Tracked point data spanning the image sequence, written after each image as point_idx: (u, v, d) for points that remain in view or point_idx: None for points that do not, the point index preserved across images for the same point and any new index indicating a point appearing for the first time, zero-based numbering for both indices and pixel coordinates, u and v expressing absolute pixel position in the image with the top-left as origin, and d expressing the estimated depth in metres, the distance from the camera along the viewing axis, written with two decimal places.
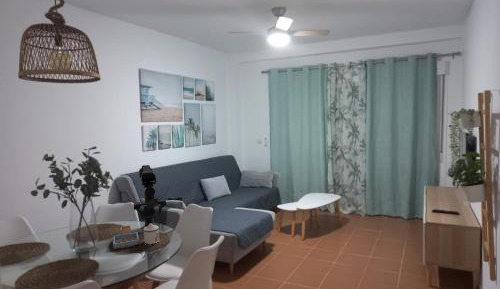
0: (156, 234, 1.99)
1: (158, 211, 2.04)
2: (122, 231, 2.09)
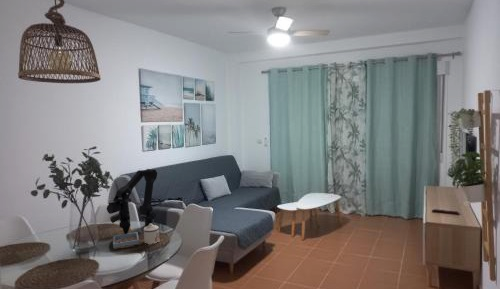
0: (156, 234, 1.99)
1: None
2: (122, 231, 2.09)
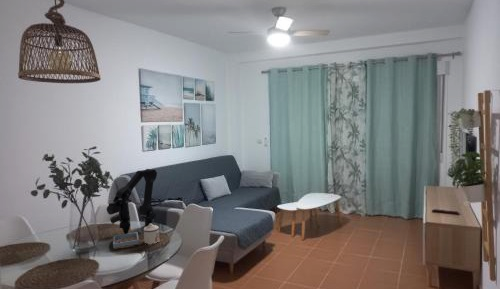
0: (156, 234, 1.99)
1: None
2: (122, 231, 2.09)
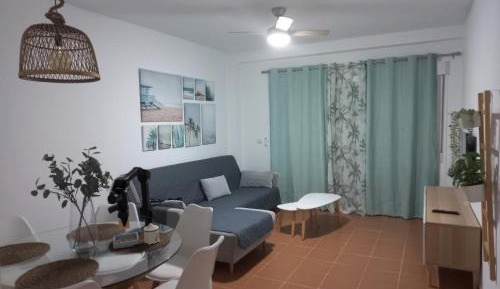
0: (156, 234, 1.99)
1: None
2: (120, 221, 1.98)
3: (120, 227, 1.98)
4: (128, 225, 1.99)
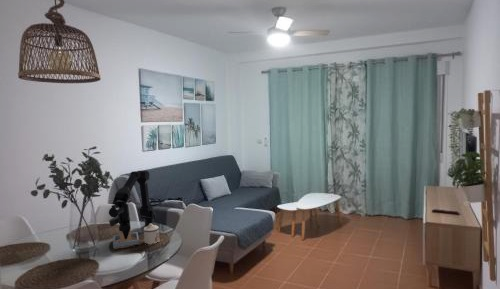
0: (156, 234, 1.99)
1: None
2: (121, 234, 1.98)
3: (122, 239, 1.98)
4: (130, 237, 2.00)
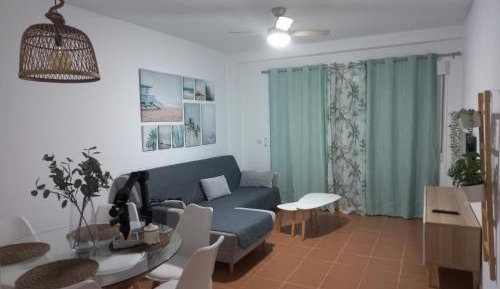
0: (156, 234, 1.99)
1: None
2: (122, 236, 1.98)
3: None
4: (130, 240, 2.00)
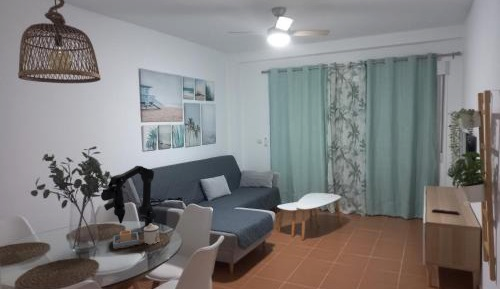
0: (156, 234, 1.99)
1: None
2: (122, 236, 1.98)
3: None
4: (130, 240, 2.00)
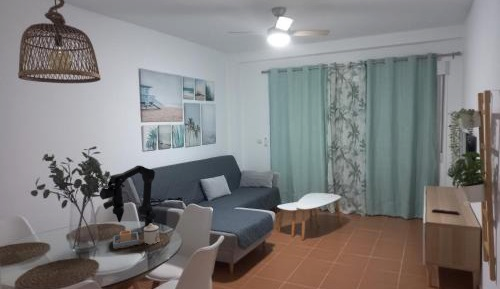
0: (156, 234, 1.99)
1: None
2: (122, 236, 1.98)
3: None
4: (130, 240, 2.00)
